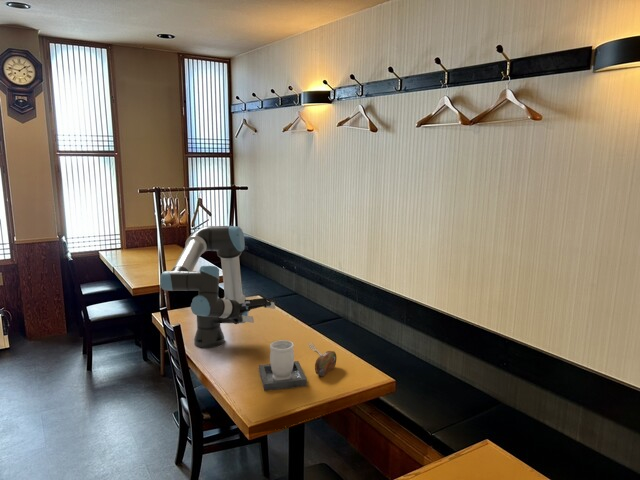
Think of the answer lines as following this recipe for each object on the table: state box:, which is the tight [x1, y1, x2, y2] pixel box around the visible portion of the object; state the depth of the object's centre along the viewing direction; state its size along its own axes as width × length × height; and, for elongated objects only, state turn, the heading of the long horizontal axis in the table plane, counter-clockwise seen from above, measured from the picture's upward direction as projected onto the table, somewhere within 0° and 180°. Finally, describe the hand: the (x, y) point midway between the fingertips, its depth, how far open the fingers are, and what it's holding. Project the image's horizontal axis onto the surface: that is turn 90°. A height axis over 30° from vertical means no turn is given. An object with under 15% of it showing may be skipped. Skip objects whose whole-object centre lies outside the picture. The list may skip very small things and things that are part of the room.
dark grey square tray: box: [258, 360, 308, 392], centre depth 198 cm, size 18×18×3 cm
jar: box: [269, 339, 295, 381], centre depth 197 cm, size 11×10×15 cm
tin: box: [314, 350, 337, 377], centre depth 205 cm, size 15×3×8 cm, turn 148°
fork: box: [307, 342, 323, 357], centre depth 223 cm, size 3×24×2 cm, turn 24°
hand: (263, 312), depth 200 cm, fingers open, 13 cm apart
